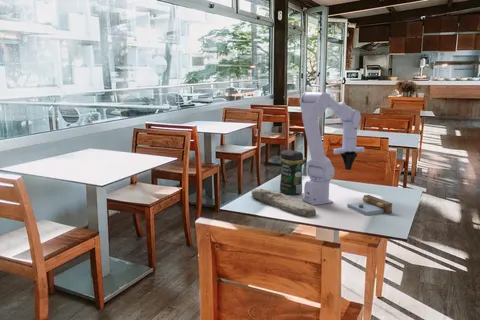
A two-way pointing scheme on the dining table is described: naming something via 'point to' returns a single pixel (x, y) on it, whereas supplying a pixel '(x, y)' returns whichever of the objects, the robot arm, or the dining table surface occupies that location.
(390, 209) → the brown long block
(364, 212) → the door panel
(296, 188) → the coffee jar
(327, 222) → the dining table surface
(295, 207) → the long grey stone
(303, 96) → the robot arm
